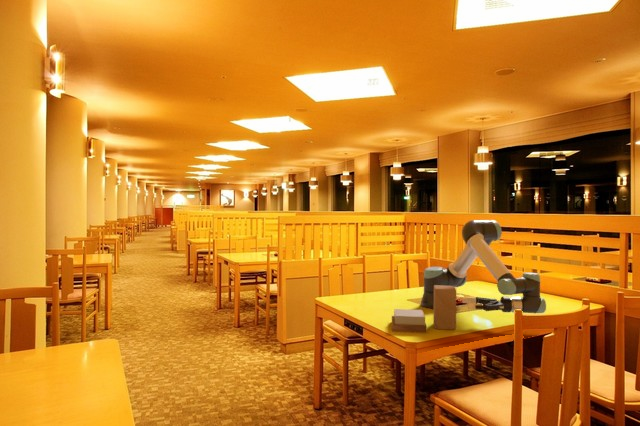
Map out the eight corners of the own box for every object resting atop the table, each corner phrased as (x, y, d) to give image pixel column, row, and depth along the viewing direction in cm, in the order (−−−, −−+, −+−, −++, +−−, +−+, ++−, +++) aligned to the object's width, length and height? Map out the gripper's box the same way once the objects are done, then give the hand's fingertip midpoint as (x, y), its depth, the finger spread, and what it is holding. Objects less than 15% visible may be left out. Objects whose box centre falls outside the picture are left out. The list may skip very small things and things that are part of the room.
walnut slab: (391, 323, 212) (391, 315, 212) (423, 324, 209) (423, 317, 209) (392, 332, 196) (392, 324, 196) (426, 334, 193) (426, 325, 193)
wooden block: (456, 330, 198) (456, 289, 198) (434, 329, 200) (435, 288, 200) (453, 324, 207) (453, 285, 207) (433, 323, 209) (433, 284, 209)
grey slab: (394, 316, 210) (394, 308, 210) (421, 317, 208) (421, 309, 208) (395, 324, 196) (395, 315, 196) (425, 325, 194) (425, 316, 194)
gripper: (518, 318, 186) (470, 317, 189) (502, 306, 211) (460, 305, 214) (518, 302, 186) (470, 301, 189) (502, 292, 211) (460, 290, 214)
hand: (465, 303), depth 202 cm, fingers open, 13 cm apart
